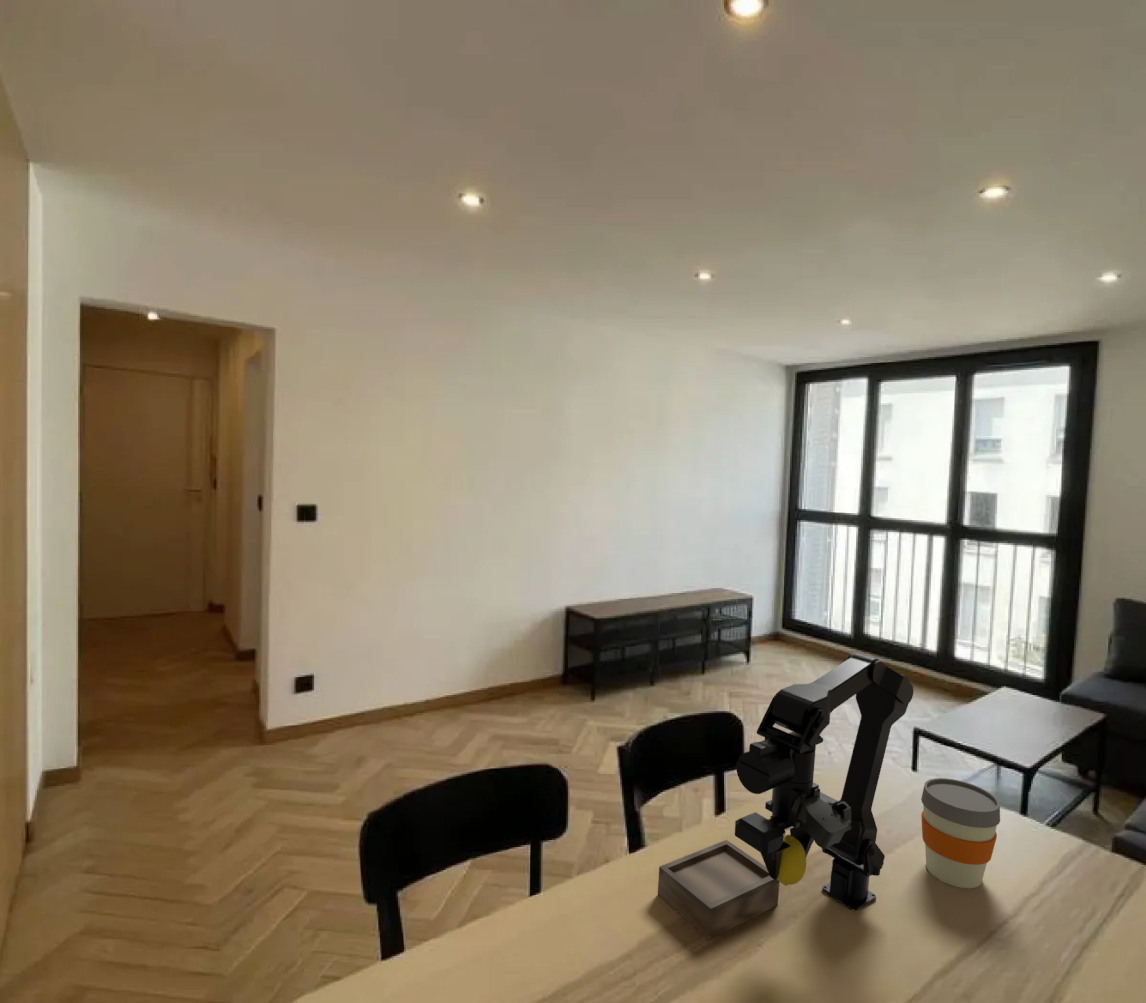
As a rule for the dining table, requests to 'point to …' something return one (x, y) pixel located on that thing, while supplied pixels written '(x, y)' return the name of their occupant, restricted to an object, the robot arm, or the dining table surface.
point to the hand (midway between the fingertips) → (786, 872)
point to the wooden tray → (717, 888)
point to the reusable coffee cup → (958, 830)
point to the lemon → (792, 862)
